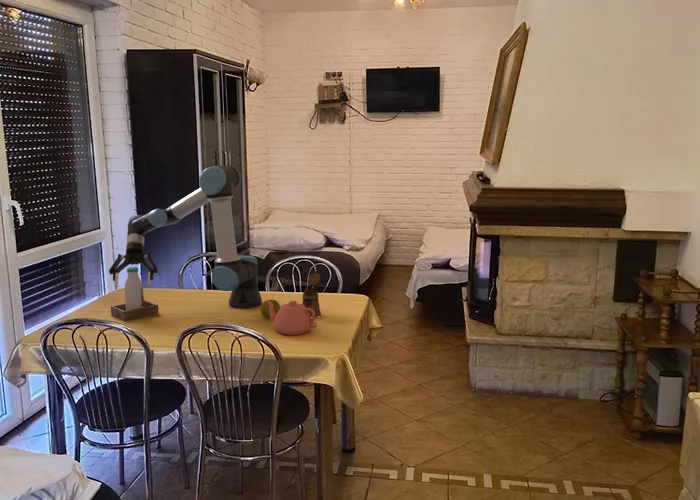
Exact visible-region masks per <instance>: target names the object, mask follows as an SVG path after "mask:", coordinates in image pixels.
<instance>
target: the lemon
mask: <svg viewBox="0 0 700 500" xmlns="http://www.w3.org/2000/svg"><path fill="white" fill-rule="evenodd" d="M267 300H268V301H270V302H272V304H273V306H274V311H275V313H276V314H277V312H278V311H279V309H280V308H281V305H280V303H279V301H277V300H275V299H267ZM260 314H261V315H262V316H263V317H264V318H266V319H269V320H271V318H270V310H269V305H268V303H267V302H266V301H265V300H264V302H262V305H260Z"/></svg>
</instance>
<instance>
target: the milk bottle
mask: <svg viewBox="0 0 700 500" xmlns="http://www.w3.org/2000/svg"><path fill="white" fill-rule="evenodd" d="M126 273H127V277H126V281H125V283H124V300H125V301H124V304H126V311H129V310H134V309H139V308H144V300H145V296H144V286H143V283H142V281H141V278H140V277H139V268H138V267H137V266H130V267H129V266H128V267H127V268H126Z"/></svg>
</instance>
